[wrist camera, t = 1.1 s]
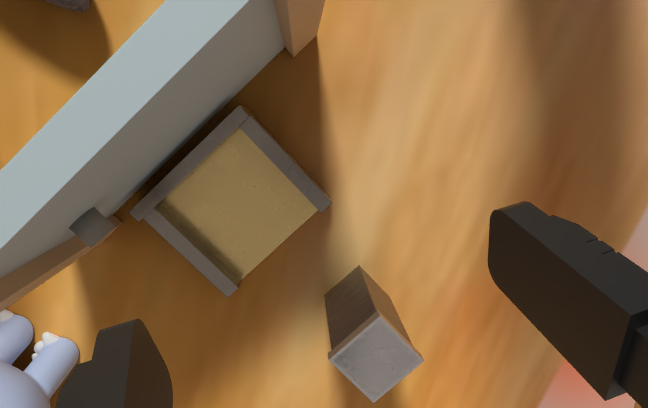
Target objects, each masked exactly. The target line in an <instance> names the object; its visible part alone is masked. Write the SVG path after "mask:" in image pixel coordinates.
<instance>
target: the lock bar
mask: <svg viewBox="0 0 648 408" xmlns="http://www.w3.org/2000/svg"><path fill="white" fill-rule="evenodd" d="M325 303H326V311H327V318H328V326H329V333H330V341H331V349H332V350H331V351H330V352H329V353H328V359H329V361H330V362H331V363H332V364H333V365H334V366H335V367H336V368H337V369H338V370H339V371H341V372H342V373H343V374H344V375H345V376H346V377H347V378H348V379H349V380H350V381H351V382H352V383H353V384H354V385H355V386H356V387H357V388H358V389H359V390H360V391H361V392H362V393H363V394H365V395H366V396H367V397H368V398H369V399H370V400H371V401H372V402H373V403H374V402H376V401H377V400H378V399H379V398H380V397H382V396H383V395H384V394H385V393H386V392H388V391H389V390H390V389H391V388H392V387H394V386H395V385H396V384H397V383H398V382H400V381H401V380H402V379H403V378H404V377H406V376H407V375H408V374H409V373H410V372H412V371H413V370H414V369H415V368H416V367H418V366H419V365H420V364H421V363H422V362H424V359H423V357H422V355H421V354H420V353H419V352H418V351H417V350H416V349H415V348H414V347H413V345H412V343H411V341H410V339H409V337H408V335H407V333H406V331H405V328H404V326H403V324H402V322H401V320H400V318H399V316H398V314H397V312H396V310H395V307H394V305H393V303H392V301H391V299H390V297H389V296H388V295H387V294H386V293H385V292H384V291H383V290H382V289H381V288H380V287H379V286H378V284H377V283H376V282H375V281H374V280H373V279H372V278H371V277H370V276H369V275H368V274H367V273H366V272H365V271H364V270H363V269H362V268H361V267H360V266H358V267H357V268H355V269H354V270H353V271H352V272H351V273H350V274H349V275H347V276H346V277H345V278H344V279H343V280H342V281H341V282H340V283H338V284H337V285H336V286H335V287H334V288H333V289H332V290H330V291H329V292H328V293H327V294H326V295H325Z"/></svg>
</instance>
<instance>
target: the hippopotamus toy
mask: <svg viewBox="0 0 648 408" xmlns="http://www.w3.org/2000/svg"><path fill="white" fill-rule="evenodd" d="M33 335H34V330H33V326H32V324H31V322H30V321H29V320H28V319H27V318H25V317H23V316H20V315H15V314H13V313H12V312H11V311H9V310H5V309H4V310H3V311H1V312H0V408H51V406H50V398H51V397H52V395H53V394H54V393H55V391H56V390H57V389H58V387H59V386H60V385H61V383H62V382H63V381H64V379H65V378H66V377H67V375H68V374H69V373H70V371H71V370H72V368H73V367H74V366H75V364H76V363H77V361H78V358H79V350H78V348H77V346H76V344H75V343H74V342H72V341H71V340H69V339H67V338H63V337H59V336H57V335H55V334H53V333H50V332H45V333H44V334H43V335H42V341H39V342H37V343H36V344H35V346H34V351H35V352H36V353H34V354H32V360H33V361H32V362H31V363H30V364H29V365H28V367H27V368H26V369H25V370H24V371H21V370H19V369H18V368H16V367H14V366H12V363H13V362H14V361H15V360H16V359H17V358H18V357H19V355H20V354H21V353H22V352H23V351H24V350H25V349H26V347H27V346H28V345H29V344H30V342H31V341H32V339H33Z"/></svg>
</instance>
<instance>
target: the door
mask: <svg viewBox="0 0 648 408" xmlns="http://www.w3.org/2000/svg"><path fill="white" fill-rule="evenodd" d="M324 2H325V0H166V1H165V2H164V3H163V4H162V5H161V6H160V7H159V8H158V9H157V10H156V11H155V12H154V13H153V14H152V15H151V16H150V17H149V18H148V19H147V20H146V21H145V23H144V24H143V25H142V26H141V27H140V28H139V29H138V30H137V31H136V32H135V33H134V34H133V35H132V36H131V37H130V38H129V39H128V40H127V41H126V42H125V43H124V44H123V45H122V46H121V47H120V48H119V49H118V50H117V51H116V52H115V53H114V54H113V55H112V56H111V57H110V58H109V60H108V61H107V62H106V63H105V64H104V65H103V66H102V67H101V68H100V69H99V70H98V71H97V72H96V73H95V74H94V75H93V76H92V77H91V78H90V79H89V80H88V81H87V82H86V83H85V84H84V85H83V86H82V87H81V88H80V89H79V90H78V91H77V92H76V93H75V94H74V96H73V97H72V98H71V99H70V100H69V101H68V102H67V103H66V104H65V105H64V106H63V107H62V108H61V109H60V110H59V111H58V112H57V113H56V114H55V115H54V116H53V117H52V118H51V119H50V120H49V121H48V122H47V123H46V124H45V125H44V126H43V127H42V128H41V129H40V130H39V131H38V133H37V134H36V135H35V136H34V137H33V138H32V139H31V140H30V141H29V142H28V143H27V144H26V145H25V146H24V147H23V148H22V149H21V150H20V151H19V152H18V153H17V154H16V155H15V156H14V157H13V158H12V159H11V160H10V161H9V162H8V163H7V164H6V165H5V166H4V167H3V168H2V170H1V171H0V312H1V311H3V310H4V309H6V308H7V307H9V306H10V305H12V304H13V303H15V302H16V301H17V300H19V299H20V298H22V297H23V296H25V295H26V294H28V293H29V292H31V291H32V290H34V289H35V288H37V287H38V286H39V285H41V284H42V283H44V282H45V281H47V280H48V279H50V278H51V277H53V276H54V275H56V274H57V273H59V272H60V271H61V270H63V269H64V268H66V267H67V266H69V265H70V264H72V263H73V262H75V261H76V260H78V259H79V258H81V257H82V256H84V255H85V254H86V253H88V252H89V251H91V250H92V249H94V248H95V247H97V246H98V245H100V244H101V243H103V242H104V241H105V240H106V239H107V238H108V237H109V236H110V235H111V234H112V233H113V232H114V231H115V230H116V229H117V228H118V227H119V226H120V225H121V224H122V222H121V221H120V220H119V219H118V218H117V217H116V216H115V215H113V214H114V213H115V212H116V211H117V210H118V209H119V208H120V207H121V206H122V205H123V204H124V203H125V202H126V201H127V200H128V199H129V198H130V197H131V196H132V195H134V194H135V193H136V192H137V191H138V190H139V189H140V188H141V187H142V186H143V185H144V184H145V183H146V182H147V181H148V180H149V179H150V178H151V177H152V176H153V175H154V174H155V173H156V172H157V171H158V170H159V169H160V168H161V167H162V166H163V165H164V164H165V163H166V162H167V161H168V160H169V159H171V158H172V157H173V156H174V155H175V154H176V153H177V152H178V151H179V150H180V149H181V148H182V147H183V146H184V145H185V144H186V143H187V142H188V141H189V140H190V139H191V138H192V137H193V136H194V135H195V134H196V133H197V132H198V131H199V130H200V129H201V128H202V127H203V126H204V125H205V124H206V123H207V122H209V121H210V120H211V119H212V118H213V117H214V116H215V115H216V114H217V113H218V112H219V111H220V110H221V109H222V108H223V107H224V106H225V105H226V104H227V103H228V102H229V101H230V100H231V99H232V98H233V97H234V96H235V95H236V94H237V93H238V92H239V91H240V90H241V89H242V88H243V87H244V86H246V85H247V84H248V83H249V82H250V81H251V80H252V79H253V78H254V77H255V76H256V75H257V74H258V73H259V72H260V71H261V70H262V69H263V68H264V67H265V66H266V65H267V64H268V63H269V62H270V61H271V60H272V59H273V58H274V57H275V56H276V55H277V54H278V53H279V52H280V51H281V50H282V49H284V48H286V49H287V51H288V52H289V53H290V54H291V55H292V56H293V57H295V56H296V55H297V54H298V53H299V52H300V51H301V50H302V49H303V48H304V47H305V46H306V45H307V44H308V43H309V42H310V41H311V40H312V39H313V38H315V37H316V36H317V32H318V28H319V24H320V19H321V15H322V11H323V7H324Z"/></svg>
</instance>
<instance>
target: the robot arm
mask: <svg viewBox="0 0 648 408" xmlns="http://www.w3.org/2000/svg"><path fill="white" fill-rule="evenodd" d="M488 267H489V271H490V274H491V276H492V278H493V280H494V282H495V284H496V285H497V286H498V287H499V289H500V290H501V291H502V292H503V293H504V294H505V295H506V296H507V297H508V298H509V299H510V300H511V301H512V302H513V303H514V305H515V306H516V307H517V308H518V309H519V310H520V311H521V312H522V313H523V314H524V315H525V316H526V317H527V318H528V319H529V320H530V322H531V323H532V324H533V325H534V326H535V327H536V328H537V329H538V330H539V331H540V332H541V333H542V334H543V335H544V336H545V337H546V338H547V340H548V341H549V342H550V343H551V344H552V345H553V346H554V347H555V348H556V349H557V350H558V351H559V352H560V353H561V354H562V355H563V357H564V358H565V359H566V360H567V361H568V362H569V363H570V364H571V365H572V366H573V367H574V368H575V369H576V370H577V371H578V372H579V373H580V375H582V377H583V378H584V379H585V380H586V381H587V382H588V383H589V384H590V385H591V386H592V387H593V388H594V389H595V390H596V391H597V393H598V394H599V395H600V396H601V397H602V398H603V399H604V400H605V401H606V400H609V399H611V398H614V397H616V396H619V395H621V394H624V393H626V392H627V393H628V394H629V395H630V396H631V397H632V398H633V399H634V400H635V401H636V403H635V406H634V408H648V272H646V271H645V270H643V269H642V268H641V267H639V266H638V265H636V264H635V263H633V262H632V261H630V260H629V259H628V258H626V257H625V256H623V255H622V254H620V253H619V252H618V253H615V251H614V249H613V248H612V247H610V246H609V245H607V244H606V243H604V242H603V241H599V240H598V238H597V237H596V236H594V235H593V234H591V233H590V232H588V231H587V230H585V229H584V228H583V227H581V226H580V225H578V224H576V223H573V222H570V221H568V220H565V219H562V218H559V217H557V216H554V215H553V216H550V217H549V216H548V215H547V214H545V213H544V212H542V211H541V210H540V209H538V208H537V207H535V206H534V205H533V204H531V203H529V202H526V201H524V202H520V203H517V204H513V205H510V206H507V207H504V208H500V209H497V210H494V211H493V212H492V214H491V216H490V229H489V248H488ZM172 407H173V392H172V384H171V379H170V375H169V372H168V369H167V366H166V364H165V362H164V360H163V359H162V357H161V355H160V353H159V351H158V349H157V347H156V345H155V344H154V342H153V340H152V338H151V336H150V334H149V332H148V330H147V329H146V327H145V325H144V323H143V322H142V321H141V320H140V319H135V320H132V321H129V322H126V323H122V324H119V325H116V326H113V327H109V328H106V329H103V330H100V331H99V333H98V335H97V338H96V343H95V347H94V352H93V357H92V360H91V361H87V362H84V363H81V364H78V365H77V366H76V367H75V369H74V370H73V372H72V373H71V375H70V376H69V378H68V379H67V381H66V382H65V384H64V385H63V387H62V388H61V390H60V393H59V397H58V400H57V404H56V408H172Z"/></svg>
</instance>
